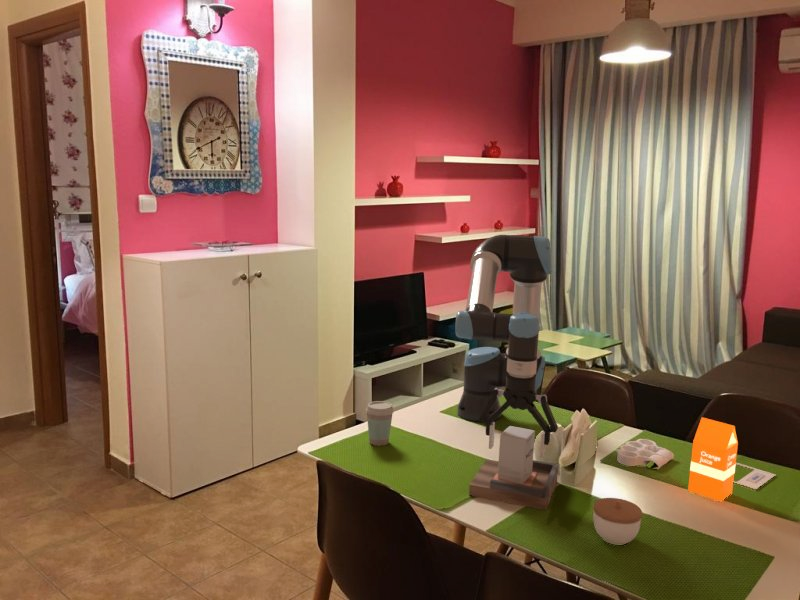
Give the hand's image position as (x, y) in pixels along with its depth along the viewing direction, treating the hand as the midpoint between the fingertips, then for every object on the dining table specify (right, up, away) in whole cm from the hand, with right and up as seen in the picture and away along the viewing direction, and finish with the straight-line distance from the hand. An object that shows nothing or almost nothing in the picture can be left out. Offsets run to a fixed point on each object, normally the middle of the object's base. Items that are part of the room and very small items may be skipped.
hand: (516, 451), depth 187 cm
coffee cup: (-37, -4, +31) cm, 48 cm away
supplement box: (0, -7, +1) cm, 7 cm away
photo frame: (+65, -10, +16) cm, 67 cm away
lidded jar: (+19, -16, -23) cm, 34 cm away
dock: (0, -10, +2) cm, 10 cm away
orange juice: (+52, -12, +3) cm, 54 cm away
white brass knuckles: (+41, -8, +24) cm, 49 cm away
